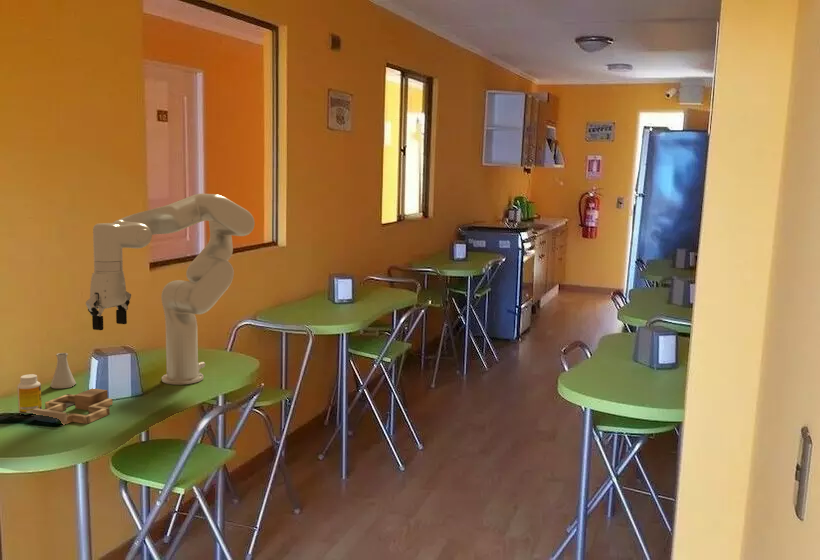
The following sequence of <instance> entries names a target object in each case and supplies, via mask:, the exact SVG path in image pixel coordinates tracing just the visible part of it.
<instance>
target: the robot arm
mask: <svg viewBox="0 0 820 560" xmlns="http://www.w3.org/2000/svg"><path fill="white" fill-rule="evenodd" d="M205 221H207V222H208V227H209V241H208V242H207V244H206V245H205V247H204V248H203V249H201V251H200V252H199V253H198V254H197V255H196V256H195V258H194V259H193V260H192V261H191V262H190V264H188V267H187V269H186V273H185V275H186V279H187V280H183V279H182V280H181V279H177V280H172V281H170V282H168V283H167V284H165V285H164V286H163V289H162V290H161V291H162V292H161V297H160V298H161V304H162V308H163V312H164V321H165V323H164V324H165V356H166V357H165V359H166V374H163V376H161V382H163V383H164V384H167V385H173V386H174V385H175V386H176V385H177V386H179V385H180V386H182V385H191V384H195V383H199V382H201V381H202V380H204V374H203V373H202V372H200V369H203V368H205V366H206V363H205V362H204V361H200V362H199V350H198V347H199V345H198V341H199V340H198V320H197V317H196V315H203V314H206V313H208V312H209V311H210V310H211V309H212V308H213V307H214V306H215V305H216V304H217V302H218V301H219V300H220V298H221V297H222V296H223V295H224V294H225V292H226V291H228V289H229V288H230V286H231V284H232V282H233V280H234V276H235V271H234V267H233V265H232V264H231V262H230V261H229V260H230V259H231V258H232V255H233V253H234V247H233V246H234V245H233V237H232V236H236V237H246V236H249V235H250V234H251V233H252V232H253V231H254V228H255V224H256V223H255V218H254V216H253V214H252V213H251V212H250V211H249V210H247V209H246V208H244V207H243V206H241V205H239V204H237V203H235V202H234V201H232V200H230V199H229V198H227V197H225V196H224V195H223V196H222V195H220V194H218V193H217V194H215V193H196V194H192V195H190V196H187V197H185V198H183V199H180V200H178V201H175V202H171V203H169V204H166V205H164V206H159V207H155V208H153V209H147V210H144V211H140V212H137V213H133V214H130V215H126V216H123V217H121V218H119V219H117V220H114V221H113V222H105V223H104V222H102V223H101V222H100V223H99V222H98V223H96V224H95V225H94V226H93V228H92V242H93V244H92V245H93V269H94V270H93V272H92V273H91V274H92V275H91V280H90V285H89V286H90V290H89V298H88V300H86V301H85V305H86V307H87V311H88V312H89V313H90V314H89V315H90V316H92V319H91V321H92V322H91V323H92V330H94V331H103V330H104V316H103V312H104V310H105V309H109V308H114V307H115V308H116V309H115V317H116V318H115V320H116V321H115V322H116V324H117V325H126V324H127V323H128V320H127V318H128V316H127V310H129V305H130V304H131V298H132V294H131V293H130V292H128V291H127V287H126V279H125V278H126V277H125V273H124V268H123V266H124V264H123V263H124V262H123V261H124V260H123V249H125V248H126V249H143V248H145V247H146V246H148V245H150V243H151V241H152V238H153V235H167V234H173V233H178V232H180V231H182V230H185V229H187V228H190V227H192V226H194V225H196V224H197V225H198V223H201V222H205Z"/></svg>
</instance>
